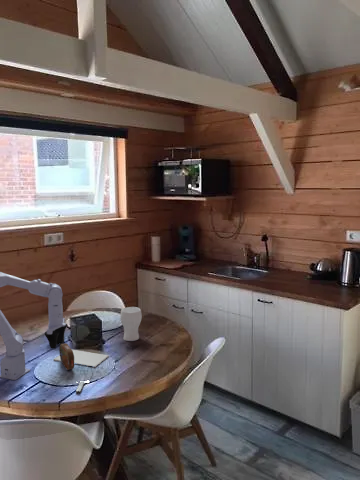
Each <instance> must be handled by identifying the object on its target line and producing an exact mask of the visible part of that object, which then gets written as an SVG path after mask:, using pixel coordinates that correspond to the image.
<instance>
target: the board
mask: <svg viewBox="0 0 360 480" xmlns="http://www.w3.org/2000/svg"><path fill="white" fill-rule="evenodd" d="M71 350H72V351H73V354H74V363H77V364H82V365H87V366H86V367H88V366H94V367H95V368H97V367H98V366H99V365H101V362H102V361H103V362H105V361H106V360H107V359H108V358H109V357H110V355H109V354H102V353H96V352H89V351H85V350H84V351H83V350H77V349H73V348H71ZM106 358H107V359H106ZM53 361H56V362H59V361H60V363H62V362H61V359H60V354H59V355H58V356H56V357H54V358H53ZM103 362H102V363H103ZM98 364H99V365H98ZM82 365H81V366H82ZM97 365H98V366H97ZM96 366H97V367H96ZM94 367H93V368H94Z"/></svg>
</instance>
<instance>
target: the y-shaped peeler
mask: <svg viewBox="0 0 360 480" xmlns="http://www.w3.org/2000/svg"><path fill="white" fill-rule="evenodd" d="M90 381H91V380H90ZM90 381H89V380H87V381H80V383H79V384H78V386H77V387H76V390H75V394H76V395H79V394H81V393H82V391H83V389H84V385H86V384H85V383H87V384H88V385H89V384H90ZM76 383H78V382H77V381H76V382H75V384H76Z"/></svg>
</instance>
